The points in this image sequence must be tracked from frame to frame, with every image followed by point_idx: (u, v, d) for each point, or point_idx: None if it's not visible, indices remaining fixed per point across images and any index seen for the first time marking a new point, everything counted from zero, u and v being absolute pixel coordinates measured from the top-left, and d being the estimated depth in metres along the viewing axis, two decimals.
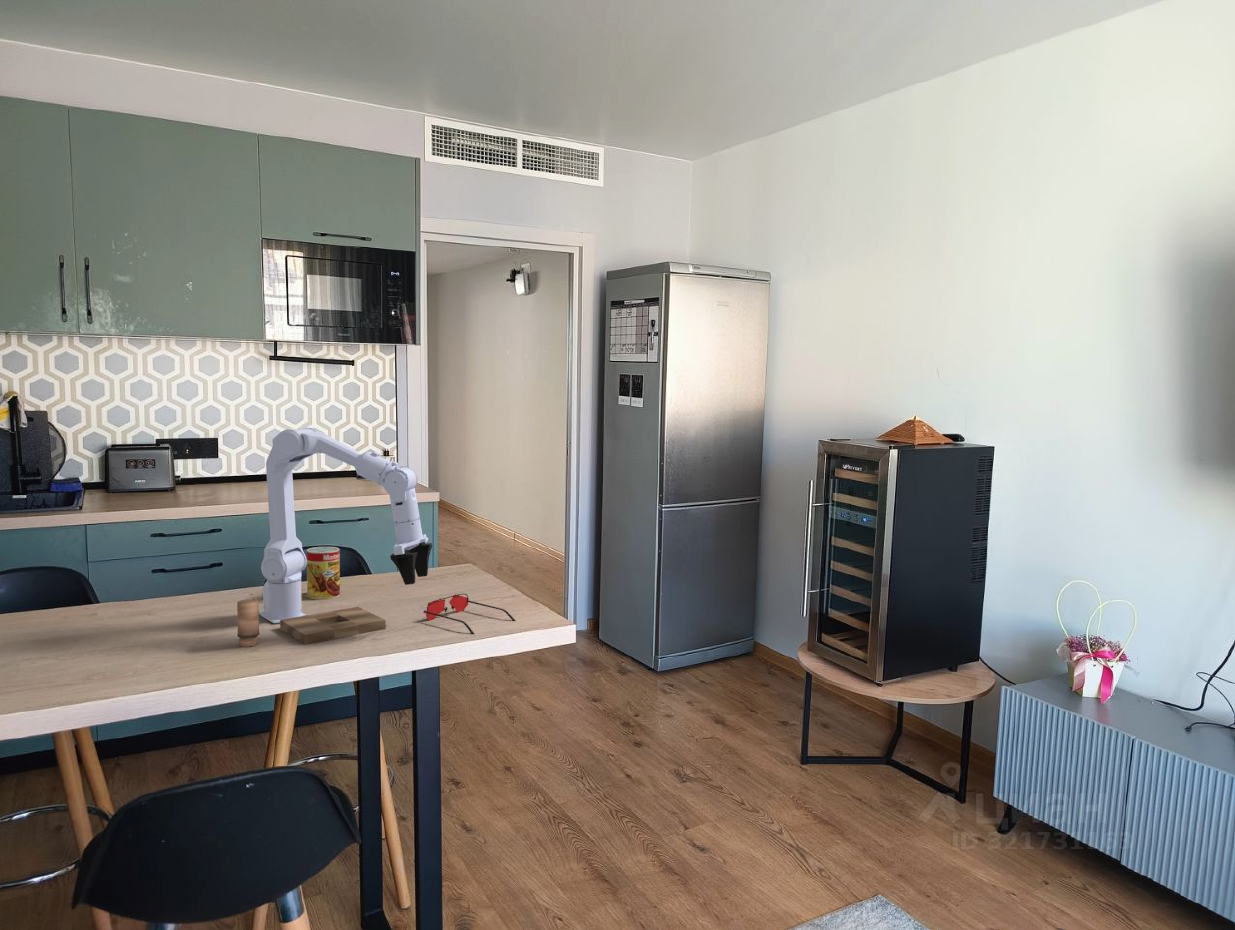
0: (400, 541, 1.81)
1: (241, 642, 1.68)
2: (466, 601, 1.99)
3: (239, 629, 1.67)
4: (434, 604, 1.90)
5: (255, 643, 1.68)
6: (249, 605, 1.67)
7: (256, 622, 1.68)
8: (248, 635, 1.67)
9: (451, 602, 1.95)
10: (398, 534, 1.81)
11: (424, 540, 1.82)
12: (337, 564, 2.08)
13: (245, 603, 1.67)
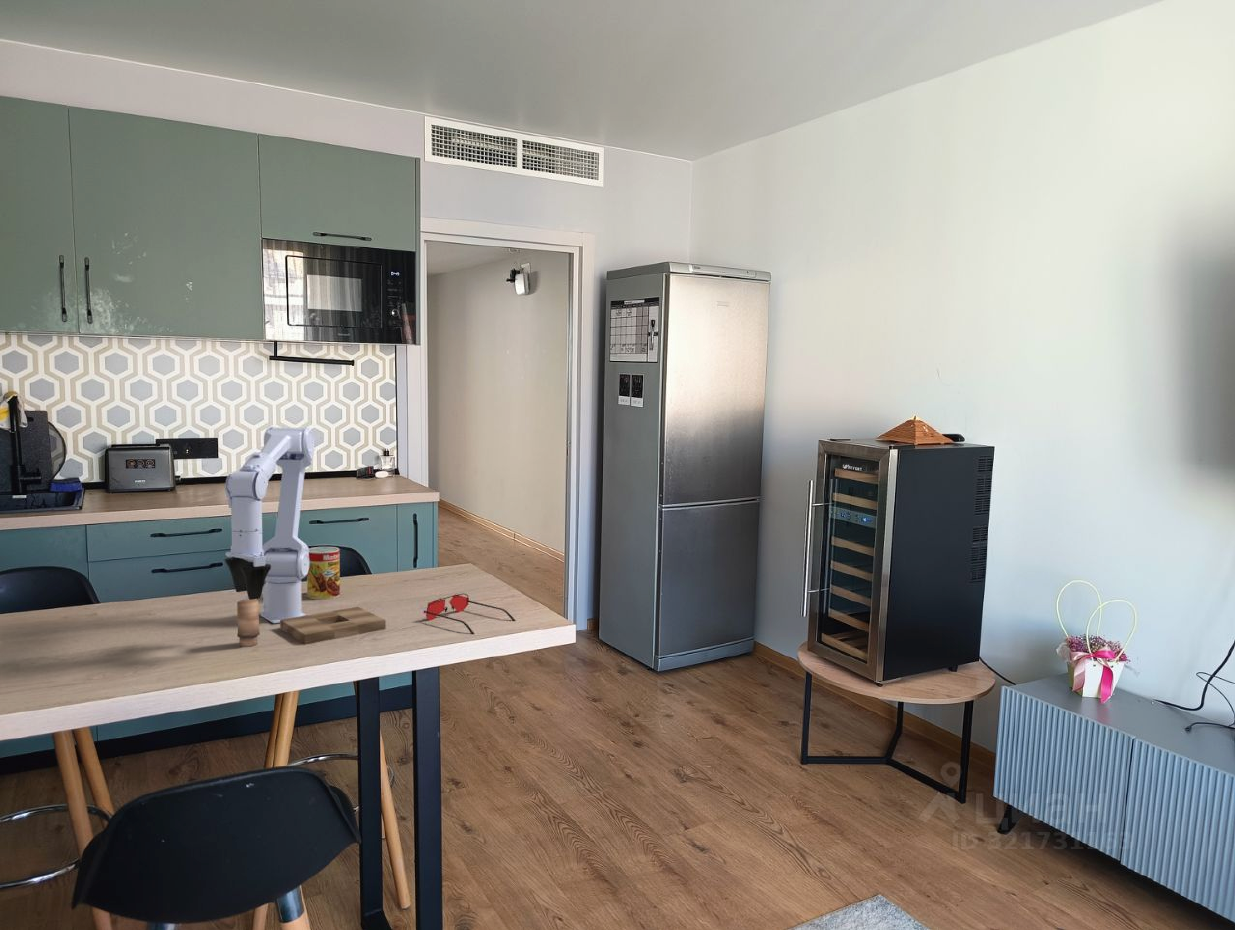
0: None
1: (241, 642, 1.68)
2: (466, 601, 1.99)
3: (239, 629, 1.67)
4: (434, 604, 1.90)
5: (255, 643, 1.68)
6: (249, 605, 1.67)
7: (256, 622, 1.68)
8: (248, 635, 1.67)
9: (451, 602, 1.95)
10: None
11: None
12: (337, 564, 2.08)
13: (245, 603, 1.67)
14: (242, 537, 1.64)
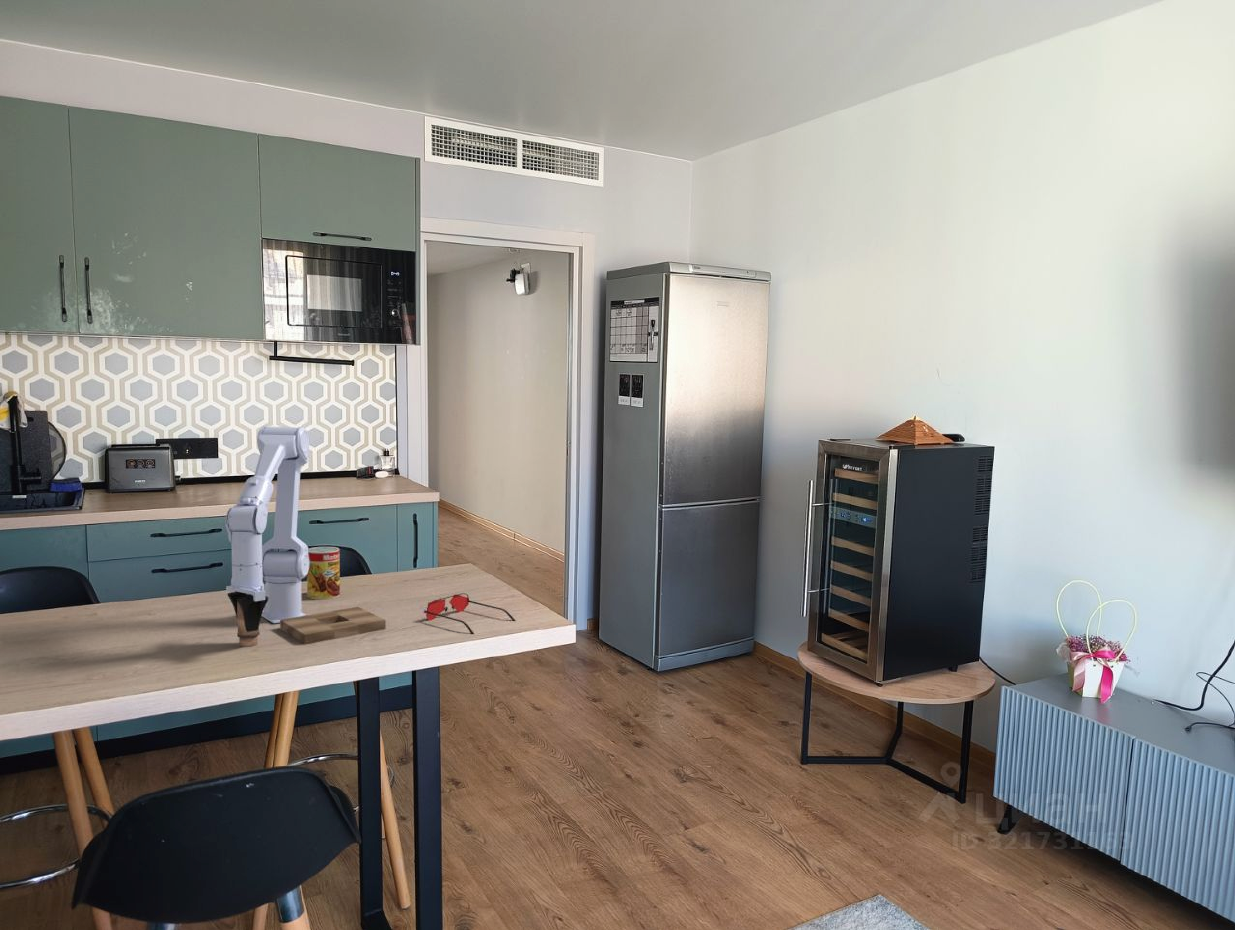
0: None
1: (241, 642, 1.68)
2: (466, 601, 1.99)
3: (239, 629, 1.67)
4: (434, 604, 1.90)
5: (255, 642, 1.68)
6: None
7: None
8: (248, 635, 1.67)
9: (451, 602, 1.95)
10: None
11: None
12: (337, 564, 2.08)
13: None
14: (242, 571, 1.65)
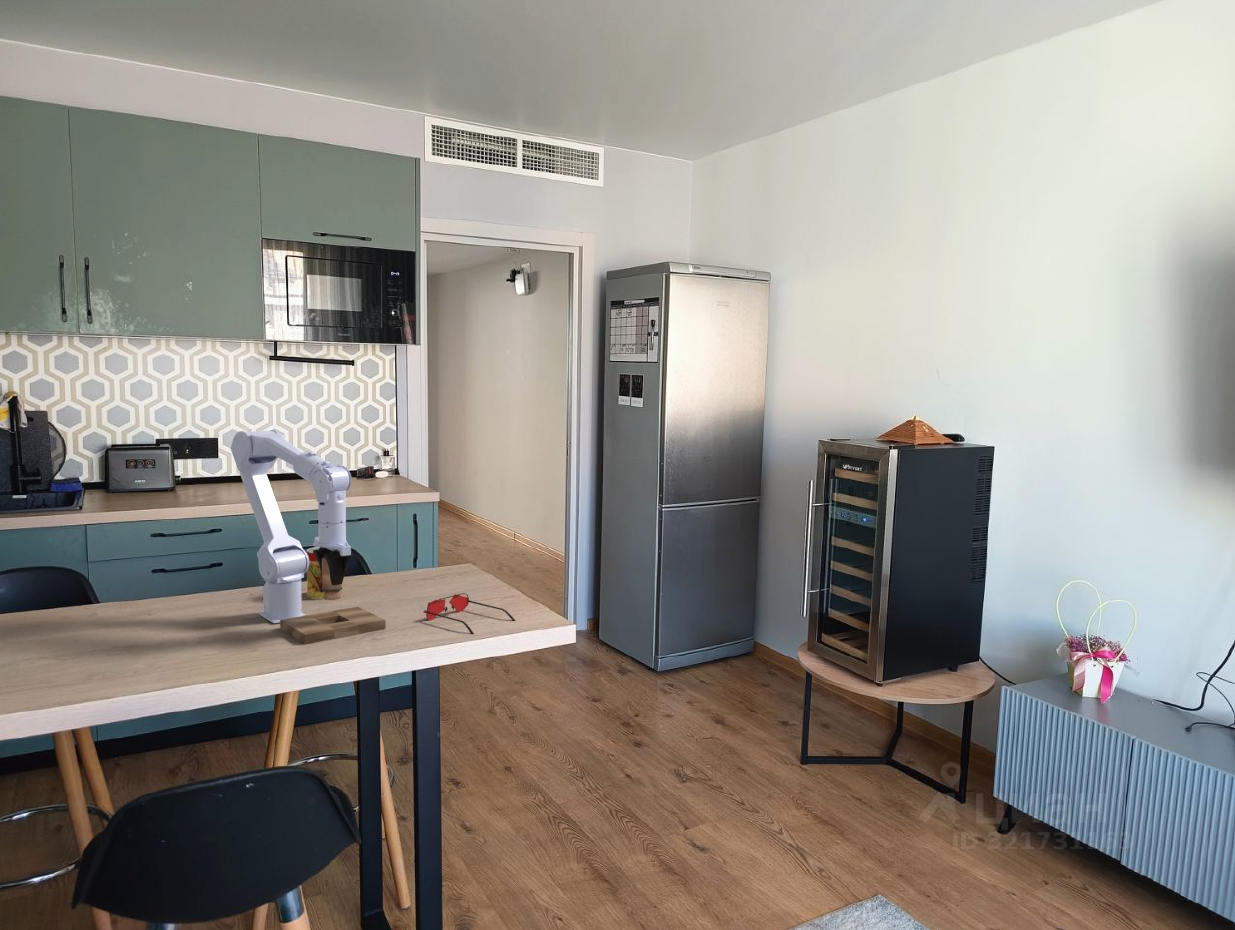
0: None
1: (326, 596, 1.79)
2: (466, 601, 1.99)
3: (324, 583, 1.78)
4: (434, 604, 1.90)
5: (338, 596, 1.80)
6: None
7: None
8: (332, 589, 1.78)
9: (451, 602, 1.95)
10: None
11: None
12: None
13: None
14: (329, 528, 1.76)
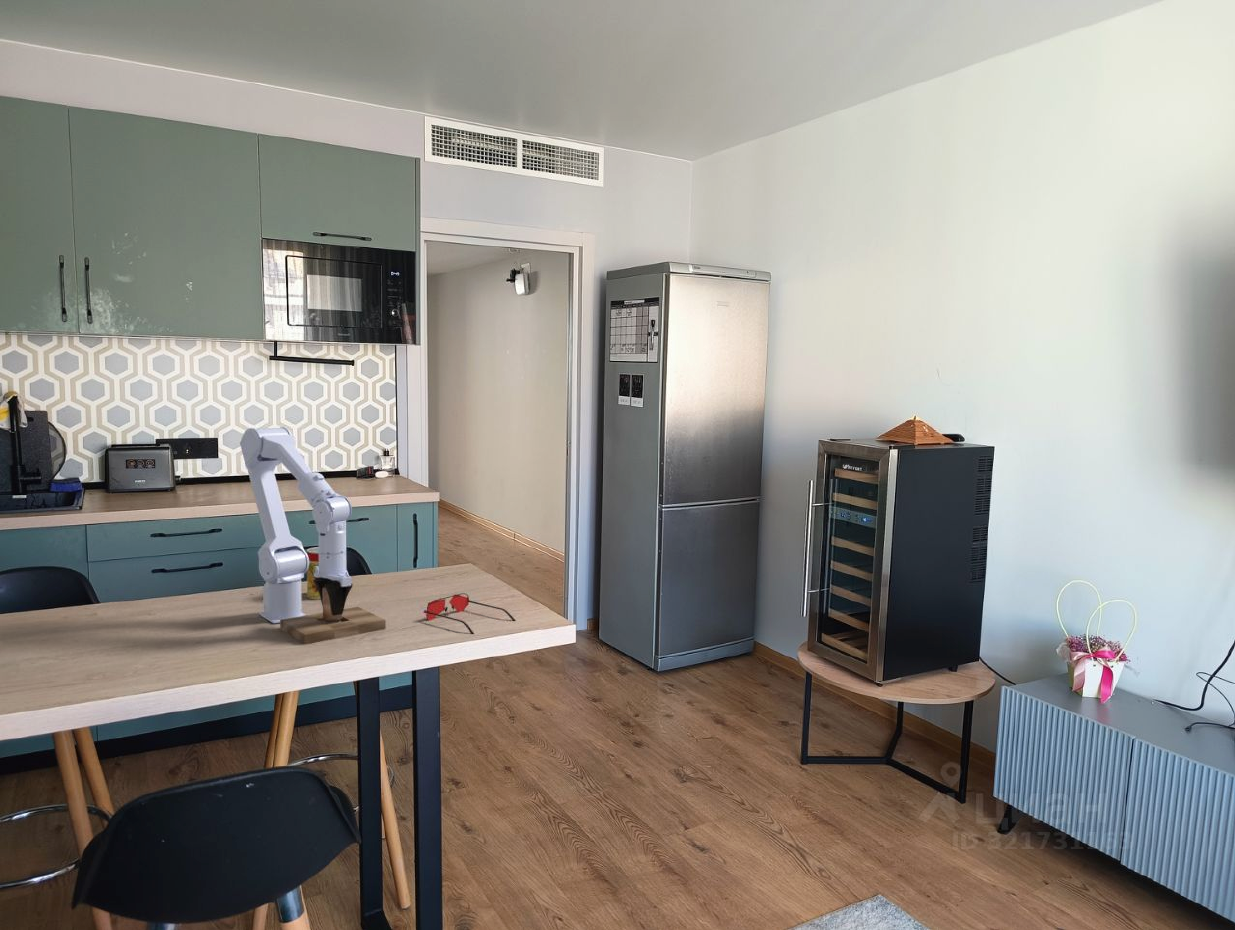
0: None
1: None
2: (466, 601, 1.99)
3: (324, 613, 1.79)
4: (434, 604, 1.90)
5: None
6: None
7: None
8: (333, 619, 1.79)
9: (451, 602, 1.95)
10: None
11: None
12: None
13: None
14: (329, 559, 1.77)
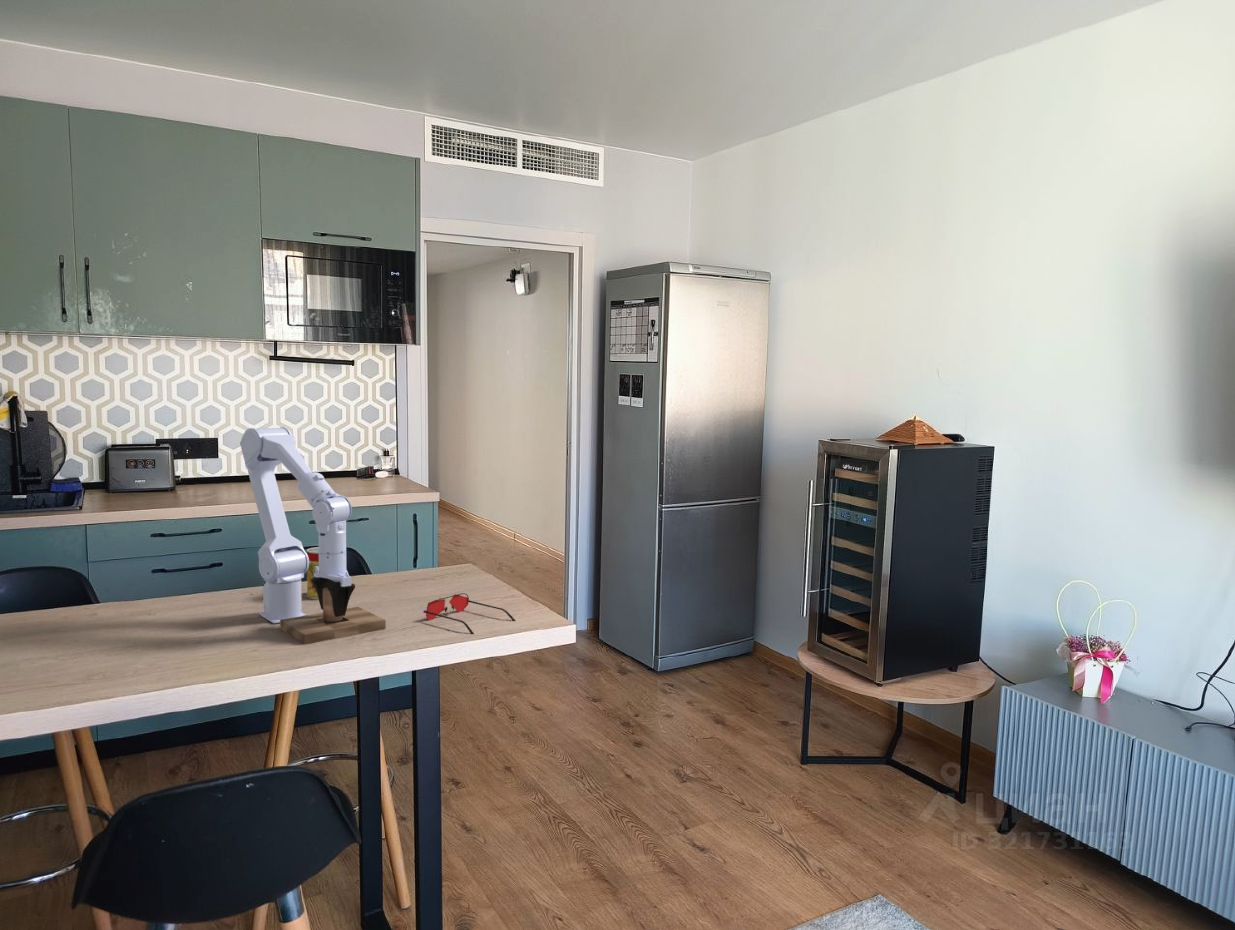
0: None
1: None
2: (466, 601, 1.99)
3: (325, 614, 1.79)
4: (434, 604, 1.90)
5: None
6: None
7: None
8: (333, 620, 1.79)
9: (451, 602, 1.95)
10: None
11: None
12: None
13: None
14: (329, 559, 1.77)
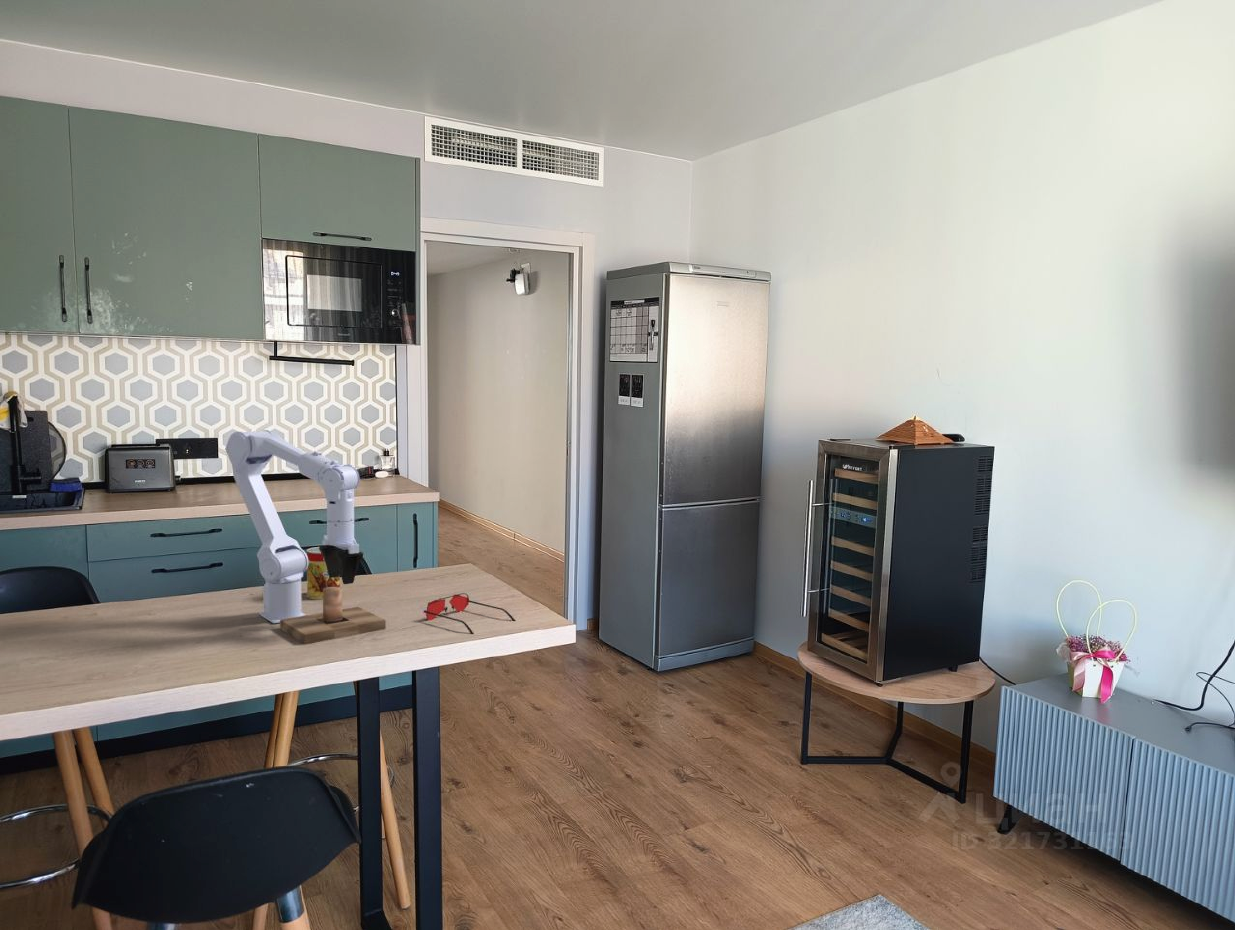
0: None
1: None
2: (466, 601, 1.99)
3: (325, 614, 1.79)
4: (434, 604, 1.91)
5: None
6: (334, 592, 1.79)
7: (340, 608, 1.80)
8: (333, 620, 1.79)
9: (451, 602, 1.95)
10: None
11: None
12: None
13: (330, 590, 1.79)
14: (337, 527, 1.79)
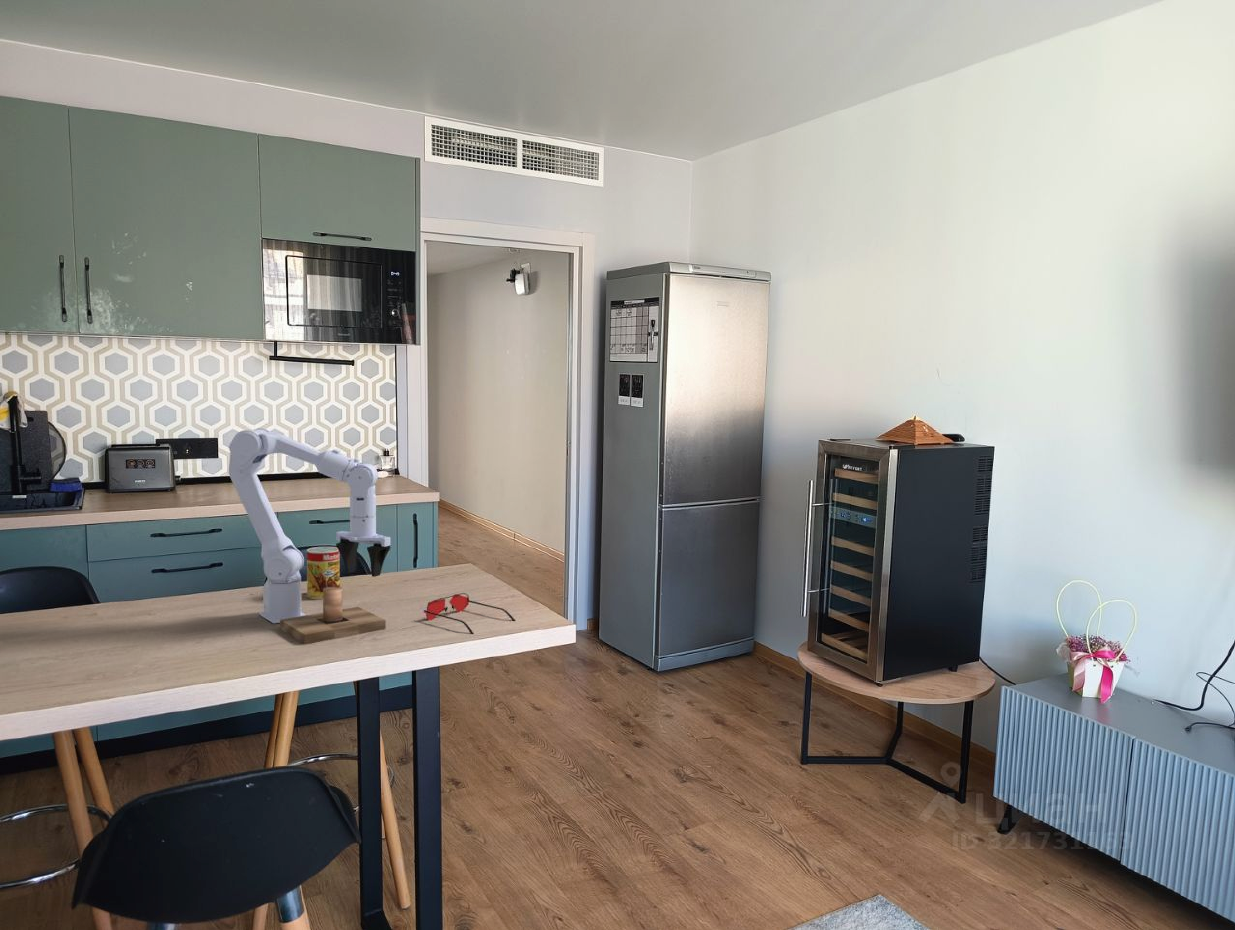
0: None
1: None
2: (466, 601, 1.99)
3: (325, 614, 1.79)
4: (434, 604, 1.91)
5: None
6: (334, 592, 1.79)
7: (340, 608, 1.80)
8: (333, 620, 1.79)
9: (451, 602, 1.95)
10: None
11: None
12: (337, 564, 2.08)
13: (330, 590, 1.79)
14: (365, 522, 1.86)
